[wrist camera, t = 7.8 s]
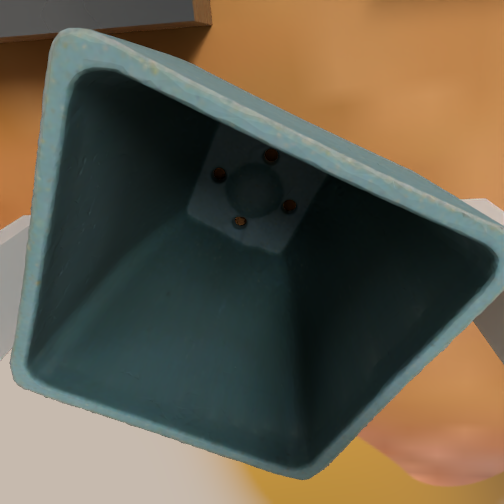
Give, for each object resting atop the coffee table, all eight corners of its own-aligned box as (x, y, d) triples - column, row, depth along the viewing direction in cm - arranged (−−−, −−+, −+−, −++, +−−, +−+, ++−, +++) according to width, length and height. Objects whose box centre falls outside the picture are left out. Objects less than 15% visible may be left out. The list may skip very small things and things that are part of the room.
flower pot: (128, 232, 17) (1, 390, 9) (188, 29, 13) (46, 9, 5) (297, 299, 18) (309, 489, 11) (402, 135, 14) (550, 249, 6)
